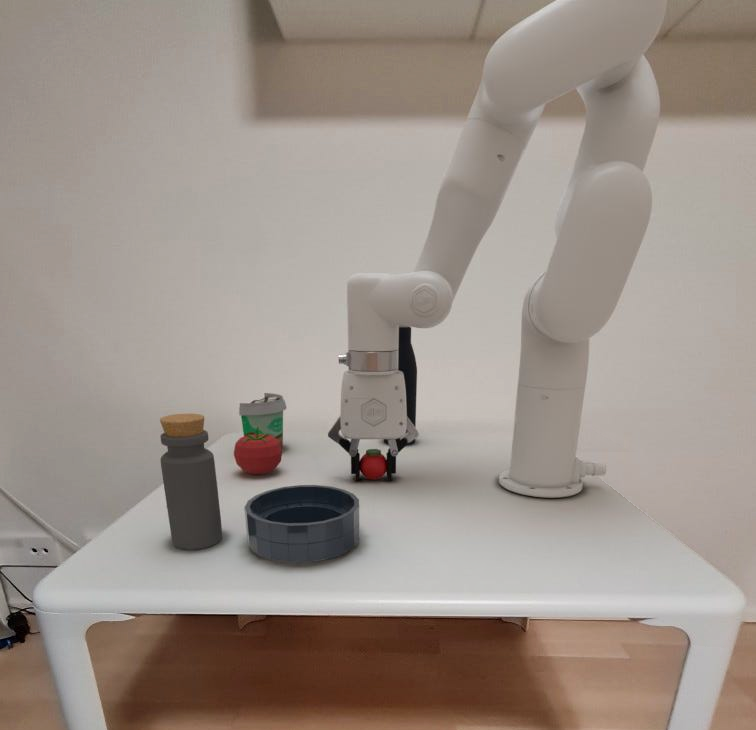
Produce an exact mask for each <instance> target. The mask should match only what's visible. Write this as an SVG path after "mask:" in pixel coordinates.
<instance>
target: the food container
mask: <svg viewBox="0 0 756 730" xmlns="http://www.w3.org/2000/svg"><path fill="white" fill-rule="evenodd" d="M263 395H264V397H263V398H261V399H254V400H252V401H251V402H242V403H241V402H240V403H239V407H238V411H239V412H238V416H240V419H241V425H242V432H243V436H245V435H248V434H249V435H254V434H256V430H257V427H258V428H259V429H258V434H267V433H268V434H272V435H271V436H273V437H275V438H276V439H277V440H278V441H279V443H280V446H281V449H282V451H283V450H284V411H285V410H287V404H286V400H285V398H284V396H283V395H282V394H279V393H278V394H277V393H270V392H264V393H263Z"/></svg>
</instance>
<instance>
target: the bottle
mask: <svg viewBox="0 0 756 730" xmlns="http://www.w3.org/2000/svg"><path fill="white" fill-rule="evenodd" d="M159 421H160V424H161V427H162V430H163V432H162V433H161V434H160V444H161V445H163V446H165V447H167V451H165V453H163V454H162V455H161V457H160V469H161V476H162V484H163V488H164V497H165V503H166V509H167V510H166V511H167V516H168V522H169V523H168V524H169V530H170V535H171V536H170V537H171V541H172V545H173V546H174V547H175V548H178V549H181V550H189V551H190V550H193V551H195V550H202V549H207V548H210V547H213V546H214V545H215V546H216V545H217V544H218V543H220V542H221V541H222V539H223V528H222V527H223V525H222V517H221V509H220V508H221V507H220V500H219V499H220V498H219V490H218V489H219V488H218V480H217V472H216V461H215V456H214V453H213V452H212V451H210V450H209V449H207V448H205V443H207V442H208V441H209V433H208V430H205V429H204V428H205V427H204V426H205V415H203V414H199V413H177V414H176V413H175V414H170V415H165V416H162V417H161V418H160V419H159Z"/></svg>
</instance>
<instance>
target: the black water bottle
mask: <svg viewBox="0 0 756 730" xmlns="http://www.w3.org/2000/svg"><path fill="white" fill-rule="evenodd" d="M398 371H402V372H403V375H404V380H405V389H406V408H407V417H408V418H409V420H410V421H411V422H412V424H413V425H414V427H415V428H416V427H417V426H416V425H417V394H418V393H417V392H418V391H417V390H418V389H417V387H418V365H417V360H416V355H415V351H414V347H413V344H412V327H410V326H403V325H399V347H398ZM416 429H417V428H416ZM407 432H408V431H407V429H406V433H407ZM398 439H399V438H398ZM398 439H395V440H396V441H397V440H398ZM383 442H384V444H386V445H389V444H388V439H383ZM415 443H416V438H415V439H414V440H412V441H411V442H409V443H408V444H407V445H406V446H410V445H413V444H415Z"/></svg>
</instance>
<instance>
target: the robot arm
mask: <svg viewBox="0 0 756 730" xmlns="http://www.w3.org/2000/svg"><path fill="white" fill-rule="evenodd" d="M667 3H668V0H554V1H552V2H550V3H549V4H547V5H546V6H544V7H542V8H540V9H539V10H537V11H536V12H534V13H532V14H531V15H529V16H527V17H525V18H524V19H523V20H521V21H519V22H518V23H516V24H515V25H514V26H512V27H511V28H509V29H508V30H506V31H505V32H504V33H503V34H502V35H500V37H498V38H497V40H496V41H495V42H494V43H493V45H492V46H491V48H490V49H489V50H488V53H487V55H486V57H485V60H484V64H483V66H482V67H483V68H482V73H481V74H482V75H481V80H480V84H479V86H478V89H477V92H476V94H475V97H474V100H473V102H472V105H471V107H470V110H469V112H468V114H467V117H466V120H465V123H464V126H463V128H462V130H461V133H460V135H459V138H458V140H457V143H456V145H455V147H454V150H453V153H452V155H451V157H450V159H449V162H448V164H447V166H446V169H445V171H444V174H443V176H442V178H441V182H440V184H439V188H438V192H437V195H436V200H435V205H434V211H433V216H432V220H431V223H430V227H429V229H428V233H427V236H426V239H425V240H424V244H423V247H422V249H421V251H420V254H419V256H418V259H417V262H416V263H415V266H414V268H413V271H412V272H408V273H401V274H392V273H387V272H386V273H385V272H382V273H381V272H366V273H365V272H363V273H361V272H360V273H354V274H352V275H351V276H350V277H349V279H348V281H347V285H346V302H347V303H346V306H347V351H346V352H345V353H343V354H338V364H339V365H345V366H346V367H348V370H345V371H344V372H343V374H342V380H341V388H340V414H339V416H338V417H337V419H336V421H334V423H333V425H332V426H331V427H330V428H329V430H328V432H327V437H328V438H329V439H331V440H332V441H334V442H335V443H336V444H338V445H339V447H341V448H342V449H343V450H344V451H345V452H347V453H348V455H349V456H350V474H351V475H355V481H357V482H358V481H360V480H361V472H360V459H361V453H360V452H359V449H358V448H359V445H360V440H384V439H388V444H387V445H388V447H389V448H388V449H387V452H386V460H387V471H386V473H385V475H386V479H387V480H388V481H393V475H395V474H397V456H398V455H399V453H400V452H401V451H402V450H403V449H404V448H405V447H406V446H408V445H407V444H408V443H409V442H411V441H412V440H414V439H415V440H416V439H417V438H418V437H419V435H420V433H419V431H418V429H417V428H415V427H414V425H413V424H412V422H411V421H410V420H409V418H408V417H407V408H406V389H405V380H404V375H403V372H402V371H398V347H399V325H403V326H409V327H411V328H416V329H431V328H434V327H437V326H439V325H440V324H442V323H443V322H444V321H445V320H446V319H447V317H448V316H449V314H450V313H451V310H452V307H453V302H454V300H455V298H456V296H457V294H458V291H459V288H460V287H461V284H462V282H463V279H464V277H465V275H466V273H467V271H468V268H469V266H470V263H471V262H472V260H473V257H474V256H475V254H476V251H477V249H478V247H479V246H480V244H481V242H482V240H483V238H484V236H485V235H486V233H487V232H488V231H489V229H490V227H491V225H492V224H493V222H494V220H495V218H496V216H497V213H498V212H499V210H500V208H501V205H502V203H503V201H504V199H505V196H506V194H507V192H508V189H509V187H510V185H511V183H512V181H513V178H514V177H515V174H516V173H517V169H518V168H519V165H520V162H521V161H522V159H523V156H524V154H525V152H526V150H527V147H528V145H529V143H530V141H531V138H532V136H533V134H534V132H535V129H536V127H537V125H538V123H539V121H540V118H541V116H542V114H543V111H544V109H545V107H546V105H547V103H550V102H552V101H553V100H555V99H558V98H560V97H562V96H564V95H566V94H568V93H569V92H571V91H573V90H576V91H577V93H578V94H579V96H580V98H581V99H582V101H583V104H584V107H585V113H586V115H585V116H586V118H585V126H584V131H583V133H582V137H581V140H580V144H579V147H578V151H577V155H576V156H575V157H576V158H575V160H574V163H573V166H572V169H571V172H570V175H569V178H568V180H567V183H566V185H565V186H566V187H565V188H564V191H563V194H562V197H561V198H560V202H559V204H558V206H557V208H556V212H555V217H554V234H555V238H556V240H555V244H554V247H553V249H552V250H553V251H552V252H551V255H550V257H549V262H548V264H547V266H546V270H544V271H543V272H540V274H538V275H537V276H536V277H535V278H534V280H533V281H532V282H531V283H530V285H529V287H528V288H527V290H526V293H525V295H524V298H523V302H522V306H521V307H522V309H521V321H520V322H521V326H520V328H521V330H520V354H519V368H518V377H517V378H518V379H517V386H516V387H517V389H516V399H515V408H514V409H515V410H514V419H513V431H512V440H511V441H512V442H511V453H510V462H509V463H510V465H509V468H507V469H504V470H502V471H501V472H500V473H499V476H498V483H499V485H500V486H502V488H504V489H506V490H508V491H510V492H513V493H516V494H519V495H523V496H528V497H535V498H548V499H549V498H552V499H554V498H567V497H571V496H574V495H577V494H579V493H580V492H581V491H582V490H583V485H584V482H583V478H585V477H586V476H594V477H596V476H597V477H598V476H600V477H601V476H603V477H604V476H606V473H607V465H606V463H605V462H593V463H592V461H591V460H581V459H579V458H577V451H578V450H577V449H578V442H579V435H580V428H581V421H582V413H583V406H584V397H585V391H586V386H587V379H588V378H587V377H588V370H589V359H590V338H592V337H594V336H595V335H597V334H598V333H600V331H601V330H602V329H603V328H604V327H605V326H606V324H607V323H608V322H609V320H610V319H611V317H612V315H613V313H614V311H615V309H616V307H617V305H618V302H619V300H620V298H621V296H622V294H623V291H624V288H625V286H626V284H627V280H628V278H629V276H630V273H631V271H632V267H633V265H634V263H635V260H636V258H637V256H638V253H639V251H640V248H641V245H642V242H643V241H644V238H645V235H646V233H647V229H648V226H649V223H650V218H651V214H652V208H653V193H652V189H651V184H650V182H649V179H648V178H647V176H646V174H645V173H644V170H645V167H646V164H647V160H648V157H649V154H650V152H651V149H652V146H653V143H654V139H655V136H656V133H657V128H658V124H659V121H660V120H659V119H660V115H661V114H660V113H661V98H660V92H659V86H658V83H657V80H656V77H655V74H654V72H653V69H652V66H651V64H650V62H649V61H648V59H647V58H646V56H645V53H646V52H647V51H648V49H649V48H650V47H651V46H652V44H653V43H654V41H655V40H656V38H657V36H658V34H659V32H660V30H661V28H662V26H663V23H664V20H665V18H666V17H665V16H666V12H667V7H668V4H667ZM406 429H407V431H408V432H407V433H406ZM340 432H341V433H340ZM398 438H399V439H398ZM395 439H398V440H397V441H396V440H395Z"/></svg>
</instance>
